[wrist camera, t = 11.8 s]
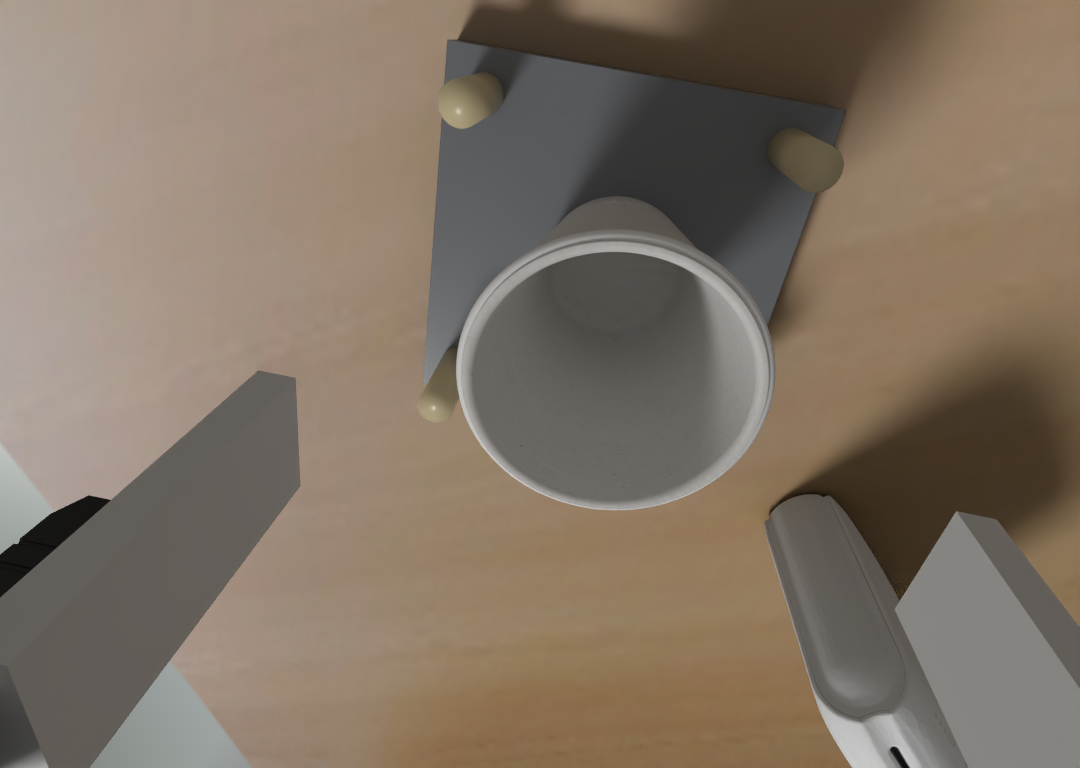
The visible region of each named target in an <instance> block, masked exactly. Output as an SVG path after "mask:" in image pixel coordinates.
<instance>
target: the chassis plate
mask: <svg viewBox="0 0 1080 768" xmlns="http://www.w3.org/2000/svg"><path fill="white" fill-rule="evenodd" d="M438 108H439V111H440V114H441V116H442V123H441V138H440V152H439V166H438V180H437V194H436V208H435V222H434V236H433V250H432V264H431V278H430V293H429V307H428V321H427V335H426V349H425V363H424V377H423V384H426V387H425V389H424V391H423V392H422V394H421V396H420V398H419V400H418V404H417V406H418V410H419V412H420V414H421V415H422V416H423V417H424V418H425V419H427V420H429V421H431V422H444V421H446V420H447V419H449V418H450V416H451V415H452V412H453V410H454V408H455V406H456V403H457V401H458V399H459V393H458V388H457V379H456V360H457V351H458V345H459V341H460V337H461V333H462V330H463V327H464V324H465V322H466V320H467V317H468V315H469V313H470V311H471V309H472V307H473V306H474V304H475V302H476V301H477V299H478V298H479V296H480V295H481V293H482V292H483V291H484V289H485V288H486V287H487V286H488V285H489V283H490V282H491V281H492V280H493V279H494V278H495V277H496V276H497V275H498V274H499V273H500V272H501V271H502V270H504V269H505V268H506V267H507V266H508V265H510V264H511V263H512V262H514V261H515V260H516V259H518V258H519V257H521V256H522V255H524V254H526V253H527V252H529V251H531V250H533V249H535V248H536V247H537V246H538V245H539V244H540V243H541V242H542V240H543V239H544V238H545V237H546V236H547V235H548V234H549V233H550V232H551V231H552V230H553V229H554V228H555V227H556V226H557V225H558V224H559V223H560V222H561V221H562V220H563V219H564V218H565V217H566V216H567V215H568V214H569V213H570V212H572V211H573V210H574V209H576V208H577V207H579V206H581V205H583V204H585V203H587V202H589V201H592V200H595V199H599V198H603V197H610V196H623V197H630V198H635V199H638V200H641V201H644V202H646V203H649V204H650V205H652V206H654V207H656V208H657V209H659V210H660V211H661V212H662V213H664V214H665V215H666V216H667V217H668V218H669V219H670V220H671V221H672V222H673V224H674V225H675V226H676V227H677V228H678V229H679V230H680V231H681V232H682V233H683V234H684V235H685V236H686V237H687V238H688V240H689V241H690V242H691V243H692V244H693V245H694V246H695V247H696V248H697V249H698V250H700V251H701V252H703V253H705V254H707V255H708V256H710V257H711V258H713V259H714V260H716V261H717V262H718V263H720V264H721V265H722V266H724V267H725V268H726V269H727V270H728V271H729V272H730V273H732V274H733V275H734V276H735V277H736V278H737V279H738V280H739V282H740V283H741V284H742V285H743V286H744V287H745V288H746V290H747V291H748V292H749V294H750V295H751V296H752V298H753V299H754V301H755V302H756V304H757V306H758V308H759V309H760V311H761V313H762V315H763V317H764V319H765V322H766V324H767V325H768V323H769V320H770V317H771V314H772V312H773V309H774V306H775V304H776V301H777V298H778V295H779V293H780V290H781V287H782V284H783V282H784V279H785V276H786V274H787V271H788V268H789V265H790V263H791V260H792V257H793V254H794V252H795V249H796V246H797V243H798V241H799V238H800V235H801V233H802V230H803V227H804V224H805V222H806V219H807V216H808V213H809V211H810V208H811V205H812V203H813V200H814V197H815V194H816V193H818V192H822V191H825V190H827V189H829V188H830V187H832V186H833V185H834V184H835V183H836V182H837V181H838V179H839V178H840V176H841V174H842V171H843V166H844V162H843V157H842V155H841V153H840V152H839V150H838V149H836V148H835V147H833V145H834V142H835V140H836V137H837V134H838V132H839V129H840V126H841V123H842V121H843V118H844V115H845V112H846V111H845V110H841V109H838V108H835V107H831V106H826V105H820V104H814V103H809V102H803V101H798V100H792V99H787V98H781V97H775V96H770V95H764V94H759V93H753V92H747V91H742V90H736V89H731V88H725V87H719V86H714V85H708V84H703V83H697V82H691V81H686V80H680V79H675V78H669V77H664V76H658V75H652V74H647V73H641V72H636V71H630V70H624V69H619V68H613V67H608V66H602V65H596V64H591V63H585V62H580V61H574V60H569V59H563V58H557V57H552V56H546V55H541V54H535V53H529V52H524V51H518V50H513V49H507V48H501V47H496V46H490V45H485V44H479V43H473V42H468V41H462V40H447V53H446V67H445V81H444V86H443V87H442V88H441V90H440V93H439V96H438Z"/></svg>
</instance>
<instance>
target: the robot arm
mask: <svg viewBox="0 0 1080 768" xmlns="http://www.w3.org/2000/svg"><path fill="white" fill-rule="evenodd" d="M299 487H300V469H299V446H298V423H297V400H296V378H293V377H288V376H283V375H278V374H273V373H268V372H263V371H257V372H256V373H255V374H254V375H253V376H252V377H251V378H249V379H248V380H247V381H246V382H245V383H244V384H243V385H241V386H240V387H239V388H238V389H237V390H236V391H235V392H234V393H232V394H231V395H230V396H229V397H228V398H227V399H226V400H224V401H223V402H222V403H221V404H220V405H219V406H218V407H216V408H215V409H214V410H213V411H212V412H211V413H210V414H208V415H207V416H206V417H205V418H204V419H203V420H202V421H201V422H199V423H198V424H197V425H196V426H195V427H194V428H193V429H191V430H190V431H189V432H188V433H187V434H186V435H185V436H183V437H182V438H181V439H180V440H179V441H178V442H177V443H175V444H174V445H173V446H172V447H171V448H170V449H169V450H168V451H166V452H165V453H164V454H163V455H162V456H161V457H160V458H158V459H157V460H156V461H155V462H154V463H153V464H152V465H150V466H149V467H148V468H147V469H146V470H145V471H144V472H143V473H141V474H140V475H139V476H138V477H137V478H136V479H135V480H133V481H132V482H131V483H130V484H129V485H128V486H127V487H125V488H124V489H123V490H122V491H121V492H120V493H119V494H117V495H116V496H115V497H114V498H113V499H112V500H108V499H103V498H98V497H94V496H87V497H85V498H83V499H80V500H78V501H76V502H74V503H72V504H70V505H68V506H66V507H64V508H62V509H60V510H58V511H56V512H54V513H51V514H50V515H49V516H48V517H46V518H45V519H44V520H43V521H41V522H40V523H39V524H37V525H36V526H35V527H34V528H33V529H31V530H30V531H29V532H28V533H27V534H25V535H24V536H23V537H22V538H20V541H19V543H18V544H13V545H12V546H11V547H9V548H8V549H7V550H5V551H4V552H3V553H2V554H1V555H0V768H90V766H91V765H92V764H93V762H94V761H95V760H96V758H97V757H98V756H99V754H100V753H101V751H102V750H103V749H104V747H105V746H106V745H107V744H108V742H109V741H110V740H111V738H112V737H113V736H114V734H115V733H116V732H117V730H118V729H119V728H120V726H121V725H122V724H123V722H124V721H125V719H126V718H127V717H128V716H129V714H130V713H131V712H132V710H133V709H134V707H135V706H136V705H137V703H138V702H139V701H140V700H141V698H142V697H143V696H144V694H145V693H146V691H147V690H148V689H149V687H150V686H151V685H152V683H153V682H154V681H155V679H156V678H157V677H158V675H159V674H160V673H161V671H162V670H163V669H164V667H165V666H166V665H167V663H168V662H169V661H170V659H171V658H172V657H173V655H174V654H175V653H176V651H177V650H178V649H179V647H180V646H181V645H182V643H183V642H184V641H185V639H186V638H187V637H188V635H189V634H190V633H191V631H192V630H193V629H194V627H195V626H196V625H197V623H198V622H199V621H200V619H201V618H202V617H203V615H204V614H205V613H206V611H207V610H208V609H209V607H210V606H211V604H212V603H213V602H214V600H215V599H216V598H217V596H218V595H219V594H220V592H221V591H222V590H223V588H224V587H225V586H226V584H227V583H228V582H229V580H230V579H231V578H232V576H233V575H234V574H235V572H236V571H237V570H238V568H239V567H240V566H241V564H242V563H243V562H244V560H245V559H246V558H247V556H248V555H249V554H250V552H251V551H252V550H253V548H254V547H255V546H256V544H257V543H258V542H259V540H260V539H261V538H262V536H263V535H264V534H265V532H266V531H267V530H268V528H269V527H270V526H271V524H272V523H273V522H274V520H275V519H276V517H277V516H278V515H279V513H280V512H281V511H282V509H283V508H284V507H285V505H286V504H287V503H288V501H289V500H290V499H291V497H292V496H293V495H294V493H295V492H296V491H297V489H298V488H299ZM895 611H896V613H897V615H898V618H899V620H900V622H901V624H902V626H903V628H904V630H905V633H906V635H907V637H908V639H909V641H910V643H911V646H912V648H913V650H914V652H915V654H916V656H917V658H918V661H919V663H920V665H921V667H922V669H923V671H924V673H925V676H926V678H927V680H928V682H929V684H930V686H931V688H932V691H933V693H934V695H935V697H936V699H937V701H938V704H939V706H940V708H941V710H942V712H943V714H944V716H945V719H946V721H947V723H948V725H949V727H950V729H951V731H952V734H953V736H954V738H955V740H956V742H957V744H958V746H959V749H960V751H961V753H962V755H963V757H964V759H965V762H966V764H967V766H968V768H1080V627H1079V626H1078V625H1077V623H1076V622H1075V621H1074V620H1073V618H1072V617H1071V616H1070V614H1069V613H1068V612H1067V610H1066V609H1065V608H1064V607H1063V605H1062V604H1061V603H1060V601H1059V600H1058V599H1057V597H1056V596H1055V595H1054V594H1053V592H1052V591H1051V590H1050V588H1049V587H1048V586H1047V584H1046V583H1045V582H1044V580H1043V579H1042V578H1041V577H1040V575H1039V574H1038V573H1037V571H1036V570H1035V569H1034V567H1033V566H1032V565H1031V564H1030V562H1029V561H1028V560H1027V558H1026V557H1025V556H1024V554H1023V553H1022V552H1021V551H1020V549H1019V548H1018V547H1017V545H1016V544H1015V543H1014V541H1013V540H1012V539H1011V537H1010V536H1009V535H1008V534H1007V532H1006V531H1005V530H1004V528H1003V527H1002V526H1001V524H1000V523H999V522H998V521H997V519H993V518H988V517H983V516H978V515H973V514H968V513H963V512H958V511H956V513H955V514H954V516H953V517H952V519H951V520H950V522H949V524H948V525H947V527H946V528H945V530H944V532H943V533H942V535H941V536H940V538H939V540H938V541H937V543H936V544H935V546H934V548H933V549H932V551H931V552H930V554H929V555H928V557H927V559H926V560H925V562H924V563H923V565H922V567H921V568H920V570H919V571H918V573H917V575H916V576H915V578H914V579H913V581H912V582H911V584H910V586H909V587H908V589H907V590H906V592H905V594H904V595H903V597H902V598H901V600H900V602H899V603H898V605H897V606H896V608H895Z"/></svg>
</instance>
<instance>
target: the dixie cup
mask: <svg viewBox="0 0 1080 768" xmlns="http://www.w3.org/2000/svg"><path fill="white" fill-rule="evenodd" d="M456 379H457V388H458V393H459V398H460V402H461V405H462V409H463V411H464V414H465V417H466V419H467V421H468V424H469V426H470V428H471V429H472V431H473V433H474V435H475V436H476V438H477V440H478V441H479V442H480V444H481V445H482V447H483V448H484V449H485V451H486V452H487V453H488V454H489V455H490V456H491V458H492V459H493V460H494V461H495V462H496V463H497V464H498V465H499V466H500V467H502V468H503V469H504V470H505V471H506V472H507V473H509V474H510V475H511V476H512V477H514V478H515V479H517V480H518V481H520V482H521V483H523V484H524V485H526V486H528V487H529V488H531V489H533V490H535V491H537V492H539V493H541V494H543V495H545V496H548V497H550V498H553V499H555V500H558V501H561V502H564V503H568V504H572V505H576V506H580V507H586V508H592V509H601V510H631V509H641V508H647V507H652V506H657V505H661V504H665V503H668V502H671V501H674V500H677V499H680V498H682V497H685V496H687V495H689V494H692V493H694V492H696V491H698V490H700V489H701V488H703V487H705V486H707V485H708V484H710V483H711V482H713V481H714V480H716V479H717V478H718V477H720V476H721V475H722V474H724V473H725V472H726V471H727V470H728V469H730V468H731V467H732V466H733V465H734V464H735V463H736V462H737V461H738V460H739V459H740V458H741V457H742V455H743V454H744V453H745V452H746V451H747V449H748V448H749V447H750V445H751V444H752V443H753V441H754V440H755V438H756V436H757V435H758V433H759V431H760V429H761V427H762V425H763V423H764V421H765V419H766V416H767V414H768V411H769V408H770V404H771V401H772V396H773V391H774V384H775V356H774V349H773V344H772V340H771V336H770V333H769V330H768V327H767V324H766V322H765V319H764V317H763V315H762V313H761V311H760V309H759V308H758V306H757V304H756V302H755V301H754V299H753V298H752V296H751V295H750V294H749V292H748V291H747V290H746V288H745V287H744V286H743V285H742V284H741V283H740V282H739V280H738V279H737V278H736V277H735V276H734V275H733V274H732V273H730V272H729V271H728V270H727V269H726V268H725V267H724V266H722V265H721V264H720V263H718V262H717V261H716V260H714V259H713V258H711V257H710V256H708V255H707V254H705V253H703V252H701V251H700V250H698V249H697V248H696V247H695V246H694V245H693V244H692V243H691V242H690V241H689V240H688V238H687V237H686V236H685V235H684V234H683V233H682V232H681V231H680V230H679V229H678V228H677V227H676V226H675V225H674V224H673V222H672V221H671V220H670V219H669V218H668V217H667V216H666V215H665V214H664V213H662V212H661V211H660V210H659V209H657V208H656V207H654V206H652V205H650V204H649V203H646V202H644V201H641V200H638V199H635V198H630V197H623V196H610V197H603V198H599V199H595V200H592V201H589V202H587V203H585V204H583V205H581V206H579V207H577V208H576V209H574V210H573V211H572V212H570V213H569V214H568V215H567V216H566V217H565V218H564V219H563V220H562V221H561V222H560V223H559V224H558V225H557V226H556V227H555V228H554V229H553V230H552V231H551V232H550V233H549V234H548V235H547V236H546V237H545V238H544V239H543V240H542V242H541V243H540V244H539V245H538V246H537V247H536V248H535V249H533V250H531V251H529V252H527V253H526V254H524V255H522V256H521V257H519V258H518V259H516V260H515V261H514V262H512V263H511V264H510V265H508V266H507V267H506V268H505V269H504V270H502V271H501V272H500V273H499V274H498V275H497V276H496V277H495V278H494V279H493V280H492V281H491V282H490V283H489V285H488V286H487V287H486V288H485V289H484V291H483V292H482V293H481V295H480V296H479V298H478V299H477V301H476V302H475V304H474V306H473V307H472V309H471V311H470V313H469V315H468V317H467V320H466V322H465V324H464V327H463V330H462V333H461V337H460V341H459V345H458V351H457V360H456Z"/></svg>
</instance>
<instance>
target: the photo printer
mask: <svg viewBox="0 0 1080 768" xmlns="http://www.w3.org/2000/svg"><path fill="white" fill-rule="evenodd" d="M764 528H765V533H766V537H767V540H768V544H769V547H770V550H771V554H772V557H773V560H774V564H775V567H776V570H777V573H778V577H779V580H780V583H781V586H782V590H783V593H784V596H785V600H786V603H787V606H788V610H789V613H790V616H791V619H792V623H793V626H794V629H795V633H796V636H797V639H798V643H799V646H800V649H801V653H802V656H803V659H804V663H805V666H806V669H807V673H808V676H809V679H810V683H811V686H812V690H813V693H814V696H815V699H816V702H817V705H818V708H819V711H820V713H821V715H822V717H823V719H824V721H825V723H826V725H827V727H828V729H829V731H830V732H831V734H832V736H833V738H834V740H835V741H836V743H837V744H838V746H839V748H840V750H841V751H842V753H843V754H844V756H845V758H846V759H847V761H848V762H849V764H850V765H851V767H852V768H968V766H967V764H966V762H965V759H964V757H963V755H962V753H961V751H960V749H959V746H958V744H957V742H956V740H955V738H954V736H953V734H952V731H951V729H950V727H949V725H948V723H947V721H946V719H945V716H944V714H943V712H942V710H941V708H940V706H939V704H938V701H937V699H936V697H935V695H934V693H933V691H932V688H931V686H930V684H929V682H928V680H927V678H926V676H925V673H924V671H923V669H922V667H921V665H920V663H919V661H918V658H917V656H916V654H915V652H914V650H913V648H912V646H911V643H910V641H909V639H908V637H907V635H906V633H905V630H904V628H903V626H902V624H901V622H900V620H899V618H898V615H897V613H896V611H895V608H896V606H897V605H898V603H899V602H900V601H899V599H898V597H897V595H896V593H895V591H894V590H893V588H892V586H891V584H890V582H889V581H888V579H887V577H886V575H885V573H884V572H883V570H882V568H881V566H880V565H879V563H878V561H877V560H876V558H875V556H874V555H873V553H872V551H871V550H870V548H869V547H868V545H867V543H866V542H865V540H864V539H863V537H862V536H861V534H860V533H859V531H858V530H857V528H856V527H855V525H854V524H853V522H852V521H851V519H850V518H849V516H848V515H847V514H846V512H845V511H844V510H843V509H842V508H841V506H840V505H839V504H838V503H837V502H836V501H835V500H834V499H833V498H832V497H831V496H829V495H828V496H825V497H822V496H820V495H818V494H806V495H801V496H797V497H793V498H791V499H788V500H786V501H784V502H783V503H781V504H780V505H778V506H777V507H776V508H775V509H774V510H773V511H772V513H771V514H770V519H768V520H766V521H765V522H764Z"/></svg>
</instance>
